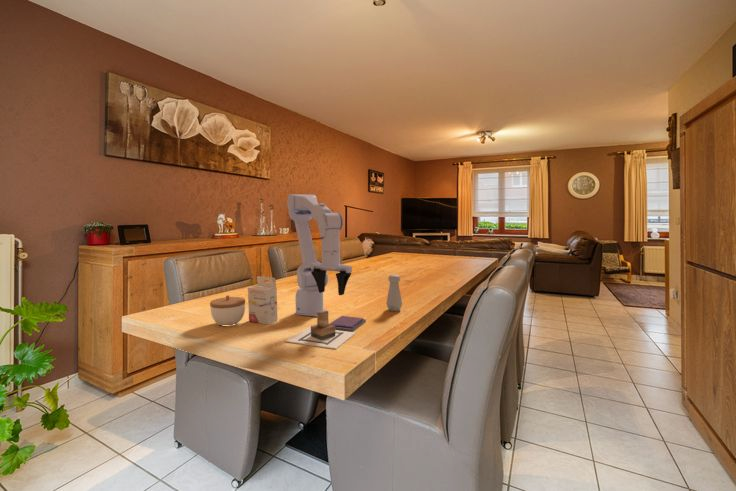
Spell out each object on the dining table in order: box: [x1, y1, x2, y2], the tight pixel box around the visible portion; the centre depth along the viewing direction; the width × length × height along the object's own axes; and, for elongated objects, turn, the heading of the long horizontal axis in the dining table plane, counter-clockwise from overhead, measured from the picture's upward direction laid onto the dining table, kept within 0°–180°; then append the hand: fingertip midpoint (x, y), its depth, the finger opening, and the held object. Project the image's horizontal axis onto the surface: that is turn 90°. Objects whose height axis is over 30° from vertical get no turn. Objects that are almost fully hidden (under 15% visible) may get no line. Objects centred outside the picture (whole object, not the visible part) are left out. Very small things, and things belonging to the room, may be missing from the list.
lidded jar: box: [209, 295, 246, 326], centre depth 115 cm, size 11×11×9 cm
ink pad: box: [329, 315, 367, 332], centre depth 113 cm, size 9×10×1 cm
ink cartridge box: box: [247, 276, 278, 326], centre depth 117 cm, size 9×5×15 cm, turn 65°
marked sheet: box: [284, 326, 357, 350], centre depth 101 cm, size 16×13×1 cm
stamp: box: [310, 310, 336, 340], centre depth 101 cm, size 5×5×7 cm
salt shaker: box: [386, 274, 403, 312], centre depth 129 cm, size 6×6×13 cm
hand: (331, 293), depth 112 cm, fingers open, 7 cm apart
